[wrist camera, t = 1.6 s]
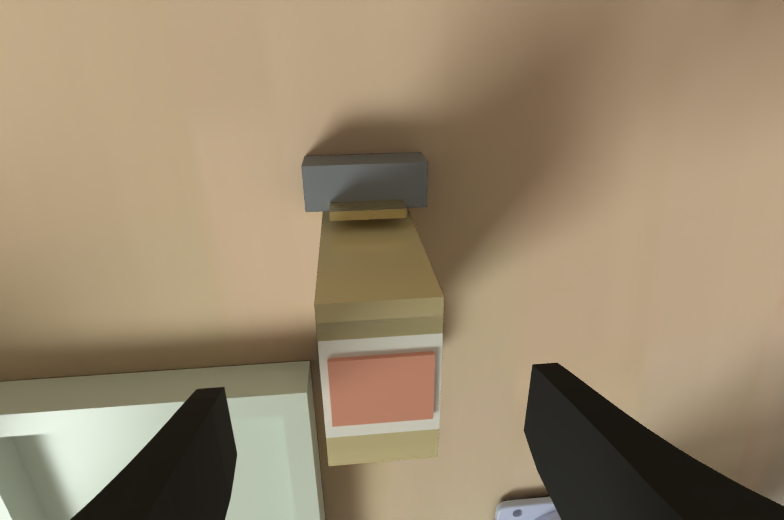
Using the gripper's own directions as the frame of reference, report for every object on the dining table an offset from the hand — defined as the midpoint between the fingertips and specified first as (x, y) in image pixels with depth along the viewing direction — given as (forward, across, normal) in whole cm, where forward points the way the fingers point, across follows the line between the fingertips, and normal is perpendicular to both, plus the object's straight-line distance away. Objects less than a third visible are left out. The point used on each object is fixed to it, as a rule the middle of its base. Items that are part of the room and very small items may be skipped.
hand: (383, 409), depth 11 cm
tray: (+8, +9, +11) cm, 16 cm away
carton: (+8, 0, 0) cm, 8 cm away
